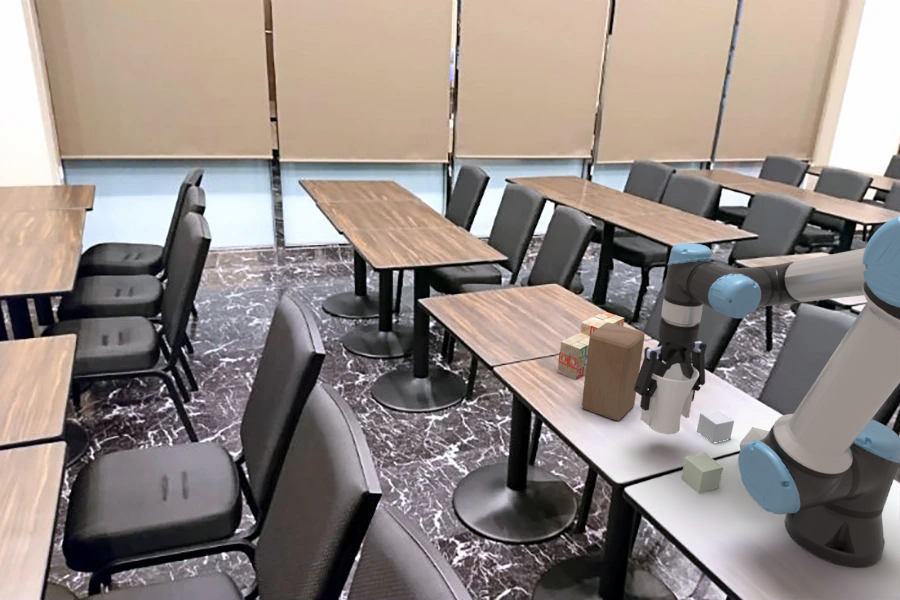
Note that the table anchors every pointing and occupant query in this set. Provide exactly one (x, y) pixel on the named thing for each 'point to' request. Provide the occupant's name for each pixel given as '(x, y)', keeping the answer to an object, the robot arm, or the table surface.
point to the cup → (671, 398)
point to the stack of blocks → (582, 345)
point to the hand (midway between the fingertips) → (664, 418)
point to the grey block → (753, 436)
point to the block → (612, 370)
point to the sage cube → (702, 472)
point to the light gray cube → (715, 426)
